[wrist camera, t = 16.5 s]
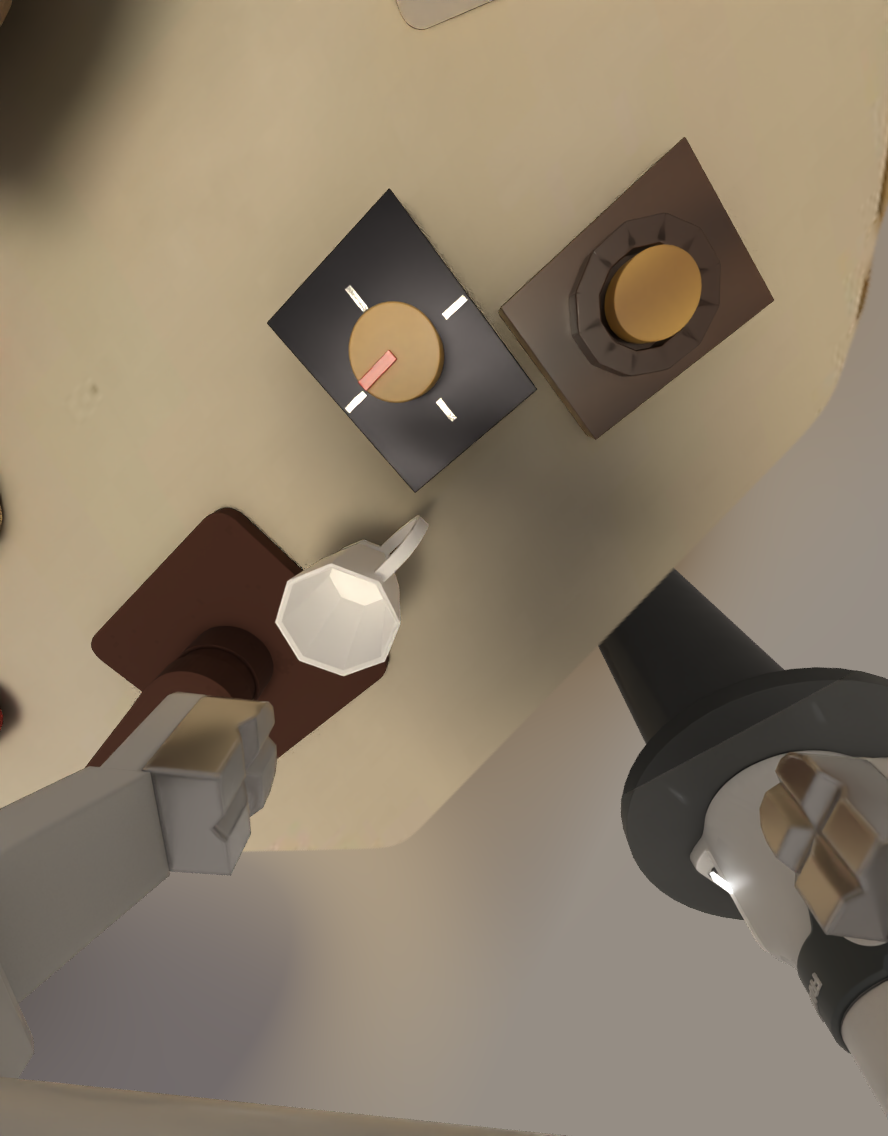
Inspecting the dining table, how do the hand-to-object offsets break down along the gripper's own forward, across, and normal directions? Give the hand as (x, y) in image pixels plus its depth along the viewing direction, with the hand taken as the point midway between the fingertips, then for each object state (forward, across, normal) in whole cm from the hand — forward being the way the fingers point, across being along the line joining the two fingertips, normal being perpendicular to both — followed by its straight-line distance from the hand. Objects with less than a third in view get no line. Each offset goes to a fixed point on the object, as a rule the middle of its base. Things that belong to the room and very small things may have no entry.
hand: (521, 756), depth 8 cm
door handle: (+25, +18, +16) cm, 35 cm away
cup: (+25, +6, +6) cm, 27 cm away
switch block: (+25, -7, -10) cm, 28 cm away
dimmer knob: (+22, +5, -6) cm, 23 cm away
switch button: (+22, -7, -10) cm, 25 cm away
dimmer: (+25, +5, -6) cm, 26 cm away
